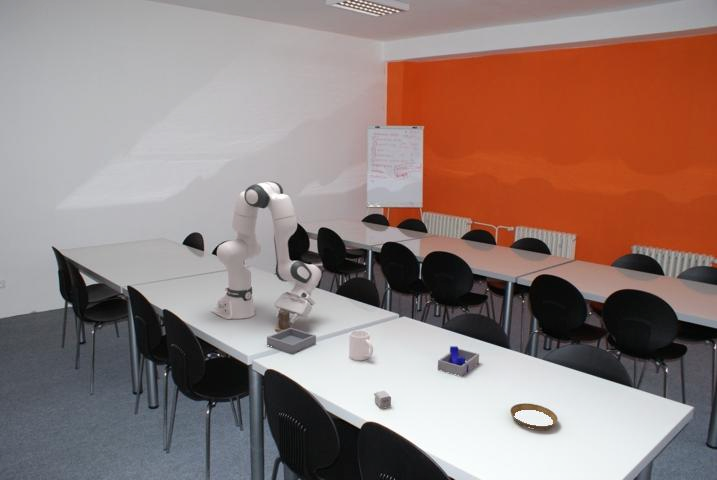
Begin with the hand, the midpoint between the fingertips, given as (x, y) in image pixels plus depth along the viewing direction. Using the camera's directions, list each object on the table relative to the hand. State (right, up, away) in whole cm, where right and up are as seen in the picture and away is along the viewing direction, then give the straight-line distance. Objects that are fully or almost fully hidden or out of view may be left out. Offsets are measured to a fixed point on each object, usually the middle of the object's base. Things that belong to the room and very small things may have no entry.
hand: (283, 320), depth 250 cm
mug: (+36, -12, -28) cm, 47 cm away
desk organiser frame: (+75, -14, -34) cm, 83 cm away
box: (+6, -8, -16) cm, 19 cm away
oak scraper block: (0, -5, +1) cm, 5 cm away
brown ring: (+92, -22, -74) cm, 120 cm away
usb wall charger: (+43, -19, -65) cm, 80 cm away
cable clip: (+75, -14, -34) cm, 83 cm away
